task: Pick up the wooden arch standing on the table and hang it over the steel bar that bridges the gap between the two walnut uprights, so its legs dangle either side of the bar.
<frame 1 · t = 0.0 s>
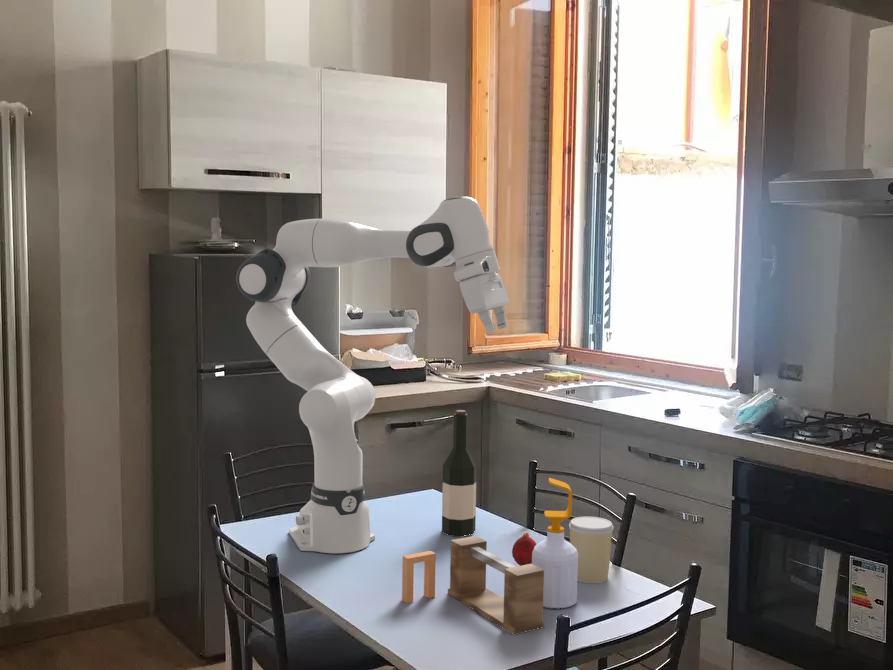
hand: (497, 329, 204), 52 cm above the table, tool tilted 20°, fingers open, 8 cm apart
wine bottle: (458, 532, 232), on the table
coffee cup: (589, 578, 202), on the table
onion: (524, 569, 207), on the table
soap bottle: (553, 601, 189), on the table
wooden arch: (418, 598, 189), on the table
wooden rail stand: (494, 609, 184), on the table
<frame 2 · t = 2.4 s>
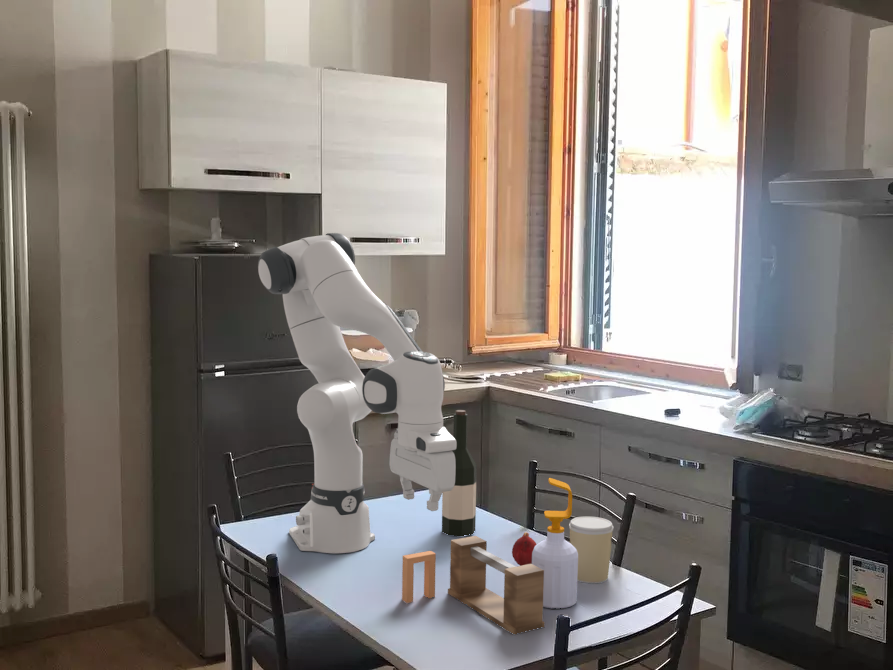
hand: (420, 504, 186), 19 cm above the table, tool pointing down, fingers open, 8 cm apart
nothing on the table moved.
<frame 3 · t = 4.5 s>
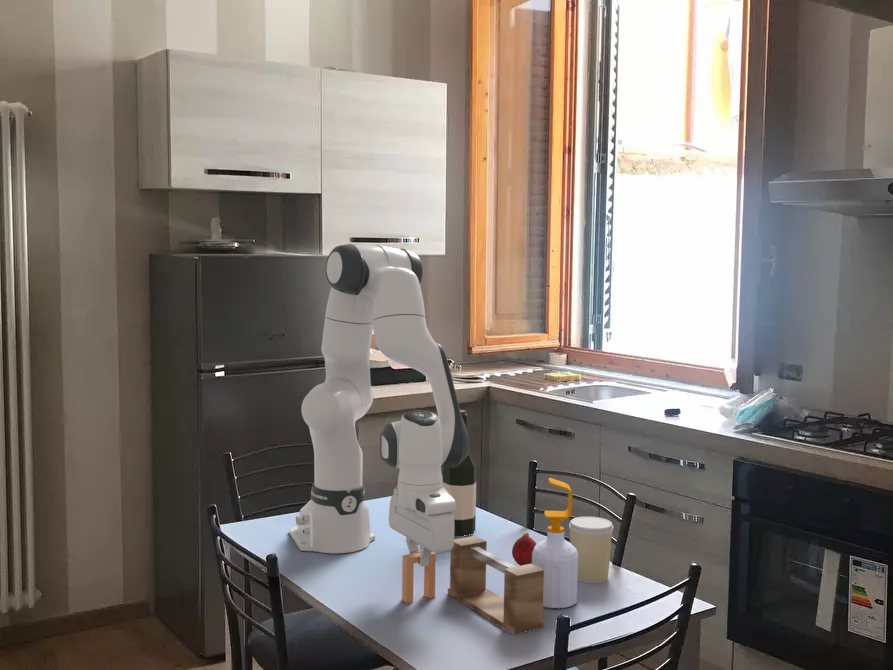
hand: (419, 562, 188), 7 cm above the table, tool pointing down, fingers closed on wooden arch, 2 cm apart
wooden arch: (418, 598, 189), on the table, touching gripper
everything else where it was.
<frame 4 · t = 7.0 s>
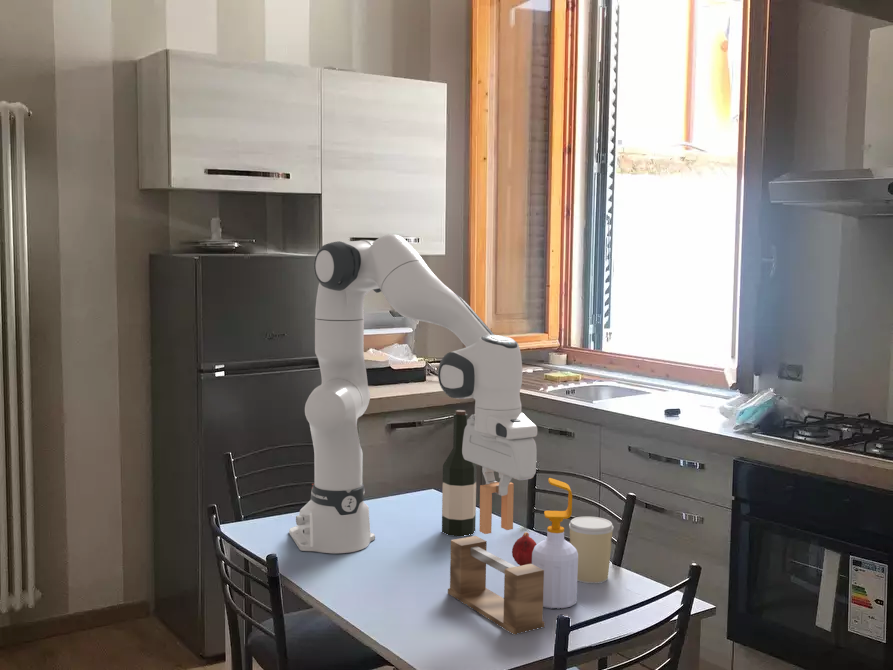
hand: (496, 492, 181), 23 cm above the table, tool pointing down, fingers closed on wooden arch
wooden arch: (496, 530, 182), point 16 cm above the table, touching gripper
everything else where it was.
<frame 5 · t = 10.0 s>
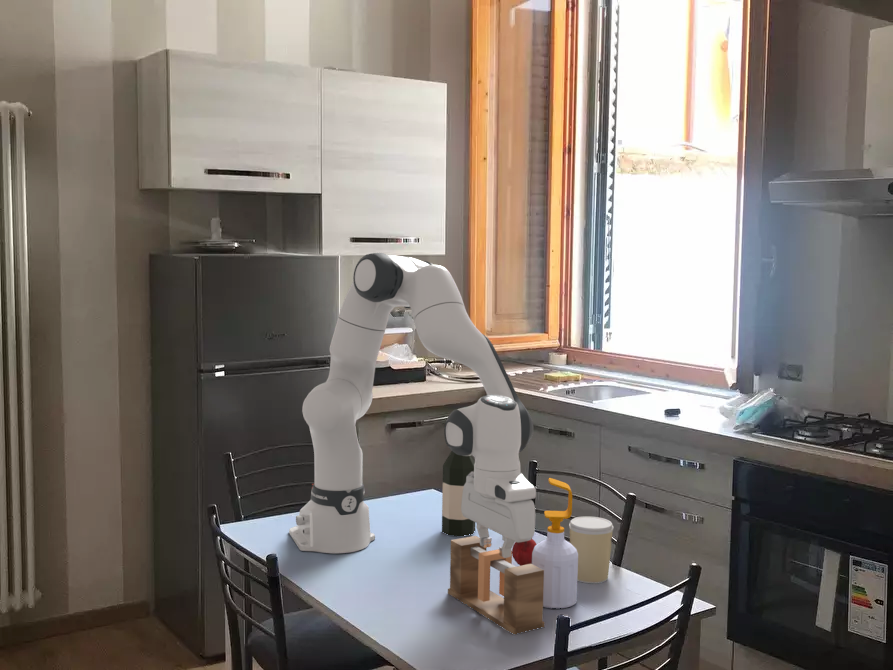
hand: (495, 551, 182), 12 cm above the table, tool pointing down, fingers open, 5 cm apart
wooden arch: (494, 597, 183), point 2 cm above the table, touching wooden rail stand
everything else where it was.
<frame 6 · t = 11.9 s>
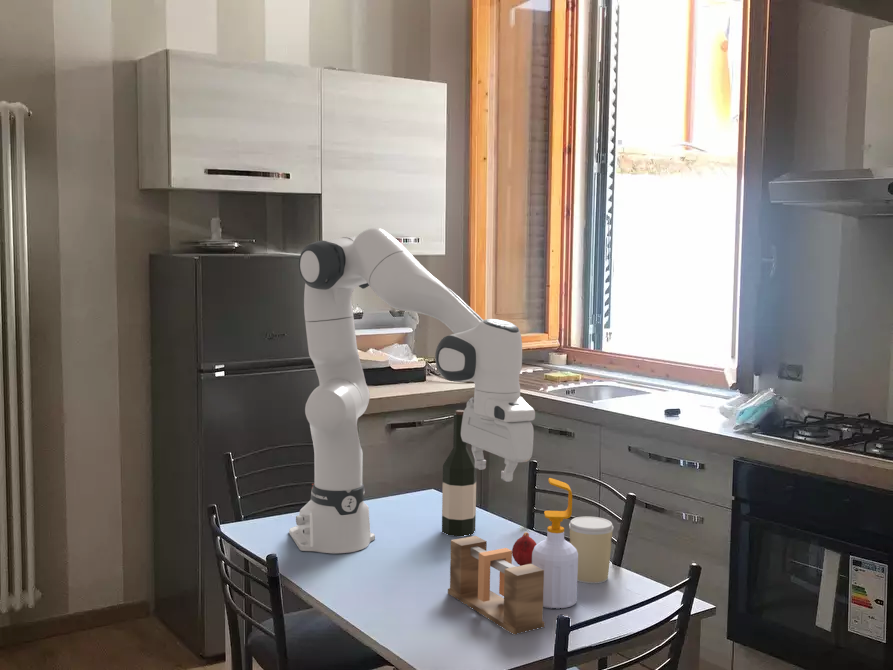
hand: (493, 474, 184), 26 cm above the table, tool pointing down, fingers open, 8 cm apart
nothing on the table moved.
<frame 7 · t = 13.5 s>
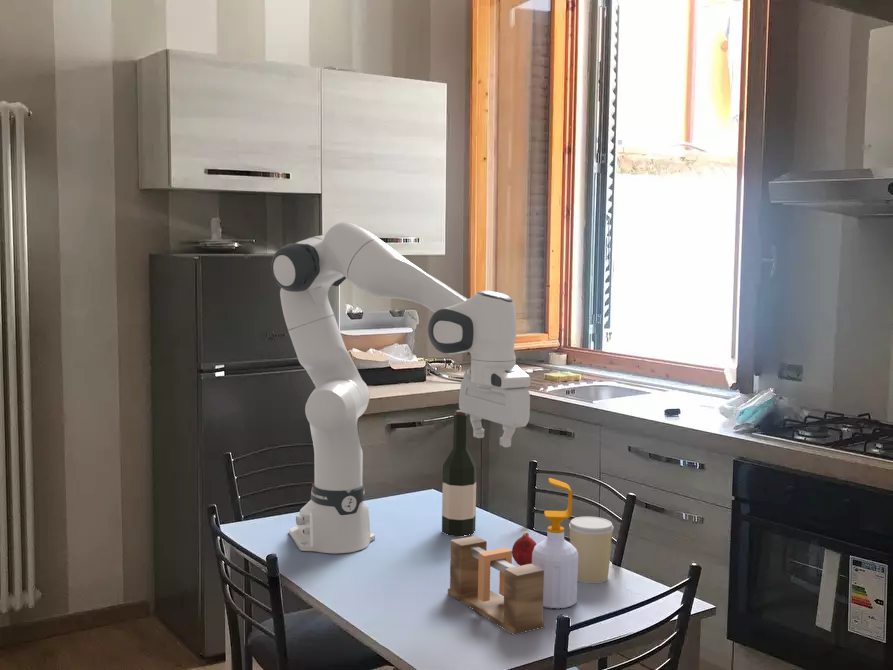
hand: (491, 441, 189), 31 cm above the table, tool pointing down, fingers open, 8 cm apart
nothing on the table moved.
at the end: wooden arch inside the target area on the wooden rail stand (0.1 cm from its centre), point 2.5 cm above the wooden rail stand's base; wooden arch touching wooden rail stand; the gripper is holding nothing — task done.
